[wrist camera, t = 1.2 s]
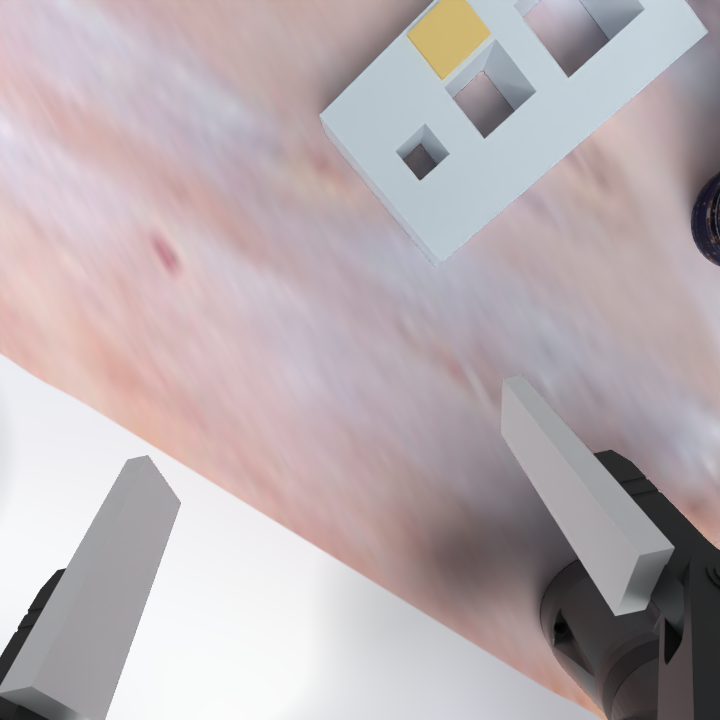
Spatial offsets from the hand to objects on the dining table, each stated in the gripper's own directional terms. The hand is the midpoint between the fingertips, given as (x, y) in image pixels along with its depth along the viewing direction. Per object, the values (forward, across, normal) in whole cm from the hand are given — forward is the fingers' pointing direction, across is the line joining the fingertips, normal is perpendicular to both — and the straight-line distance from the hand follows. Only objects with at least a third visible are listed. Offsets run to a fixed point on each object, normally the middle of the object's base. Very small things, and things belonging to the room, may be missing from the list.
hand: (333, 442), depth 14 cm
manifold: (+29, -18, -9) cm, 36 cm away
